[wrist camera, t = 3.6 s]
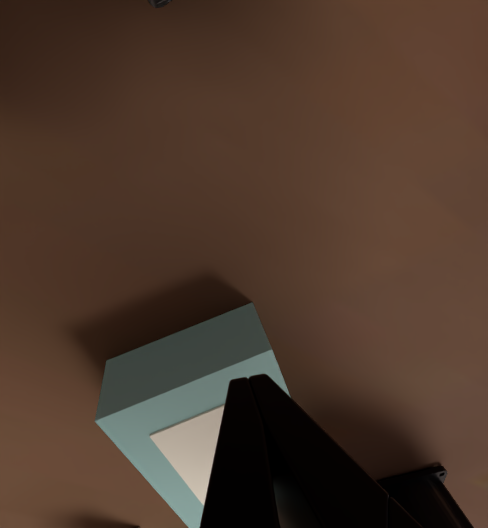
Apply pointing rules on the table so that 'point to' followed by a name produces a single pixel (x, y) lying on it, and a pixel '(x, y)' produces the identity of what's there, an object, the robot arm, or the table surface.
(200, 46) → the table surface
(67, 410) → the table surface
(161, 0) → the graphics card box
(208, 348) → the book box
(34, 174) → the table surface
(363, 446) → the table surface
